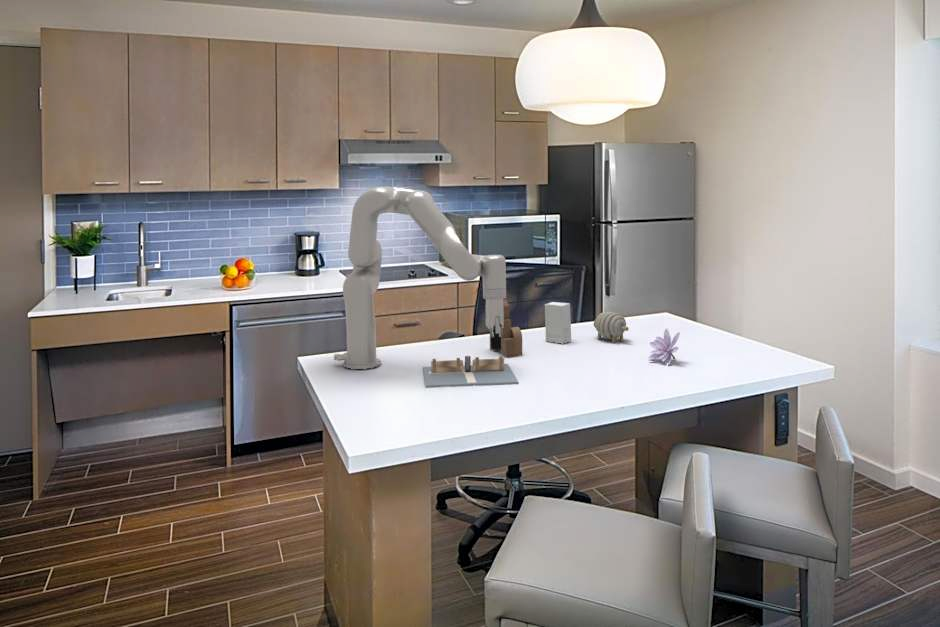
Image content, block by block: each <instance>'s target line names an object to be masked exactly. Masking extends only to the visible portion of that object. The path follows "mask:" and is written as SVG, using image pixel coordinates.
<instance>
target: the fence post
mask: <svg viewBox="0 0 940 627" xmlns="http://www.w3.org/2000/svg"><path fill="white" fill-rule="evenodd" d="M471 360H472V359H471V355H465V356H464V365H465V372H471V365H472V364H471V362H472V361H471Z"/></svg>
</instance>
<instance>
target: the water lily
mask: <svg viewBox="0 0 940 627" xmlns="http://www.w3.org/2000/svg"><path fill="white" fill-rule="evenodd" d="M680 335H681V331H679V332H677V333H676V334H675V335H674V337H673V338H672V336H671V335H670V332H669V329H668V328H665V329H664V331H663V338H662V337H661V336H656V337H655V339H654V340H653V341H649V347H651V348H653V349H654V350H652V351H650V352H649V353H650V354H651V355H649V356H648V357H647V359H648V358H649V359H648V360H647V361H653V360H657V359H659V358H660V357H661V361H662V362H664V364H665V365H666V364H667V363H668V364H669V366H670V364H671V361H672V359H673V360H674V359H676V357H675V355H674V354H673V353H676V352H677V351H678V350H679V347H678V346H675V345H676V343H678V342H677V341H678V339H679V338H680ZM671 338H672V339H671Z"/></svg>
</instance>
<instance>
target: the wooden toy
mask: <svg viewBox="0 0 940 627" xmlns="http://www.w3.org/2000/svg"><path fill="white" fill-rule="evenodd" d="M503 313H504V326H503V329H501V349H492V348H491V330H489V350H490V351H492V352H499V351H500V350H501V351H500V352H501V355H502V357H505V358H512V357H513V356H514V357H520V356H519V355H521V356H523V333H522V331H521V329H520V327H519V326H513V327H512V320H511V319H510V306H509V302H508V300H507V299H506V298H504V299H503Z"/></svg>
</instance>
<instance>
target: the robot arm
mask: <svg viewBox="0 0 940 627" xmlns="http://www.w3.org/2000/svg"><path fill="white" fill-rule="evenodd" d="M388 213H391V214H399V215H406V216H409V217H410V218H411V219H412V220H413V221H414V223H416V225H417V226H418V227H419V228H420V230H421V231H422V232H423V233H424V234H425V235H426V236H427V238H428V239H429V240H430V241H431V243H432V245H433V246H434V247H435V249H436V250H437V252H438V253H439V254H440V255H441V257H442V258H443V259H444V260H445V262H446V263H447V264H448V265H449V267H450V268H451V269H452V271H453V272H454V273H455V274H456V275H457V276H458V277H459V279H462V280H464V281H466V282H467V281H474V280H476V279H477V278H478V277H482V299H484V300H485V326H486V328H487V329H488V330H489V331H490V330H491V348H492V349H501V329H503V326H504V313H503V299H504V298H505V299H507V281H506V280H507V273H506V270H507V268H506V257H505V256H504V255H502V254H488V255H481V254H471V252H469V250H468V249H467V247H466V246H464V244H463V243H462V241H461V240H460V238H459V237H458V235H457V232H456V229H455V227H454V225H453V223H452V222H451V221H450V220H449V219H448V218H447V217H446V216H445V214H444V213H443V212H442V211H441V210H440V208H439V207H438V205H436V203H435V201H434V198H433V196H432V195H431V194H430V193H429V192H428V191H425V190H417V189H410V188H407V189H406V188H400V187H396V186H395V187H393V186H376V187H373V188H371V189H369V190H367V191H364V192H363V193H362V194H361V195H360V196H359V197H358V198H357V199H356V201H355V202H354V204H353V207H352V212H351V222H350V229H349V230H350V231H349V241H348V242H349V243H348V244H349V245H348V250H347V255H348V260H349V262H350V263H351V264H352V272H350V274H348V275H347V276H346V278H345V279H344V282H343V286H342V293H343V296H342V297H343V301H344V310H345V324H346V325H345V327H346V345H347V346H346V348H347V350H346V352H344V353H334V354H333V360H335V361H341V362H342V361H343V363H342V366H343V368H345V367H347V368H346V369H348V368H352V369H351V370H355V369H363V370H368V369H367V368H371V369H375V368H374V367H376V368H378V367H380V366H381V365H382V360H381V359H379V358H377V336H376V334H377V333H376V332H377V331H376V315H375V314H376V312H375V311H376V310H375V303H374V293H376V291H378V288H379V286H380V281H381V271H382V259H383V249H382V246H381V244H380V242H379V240H377V235H378V234H377V233H378V225H379V224H378V219H379V217H380V215H381V214H388ZM505 299H504V300H505ZM377 366H378V367H377Z"/></svg>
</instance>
